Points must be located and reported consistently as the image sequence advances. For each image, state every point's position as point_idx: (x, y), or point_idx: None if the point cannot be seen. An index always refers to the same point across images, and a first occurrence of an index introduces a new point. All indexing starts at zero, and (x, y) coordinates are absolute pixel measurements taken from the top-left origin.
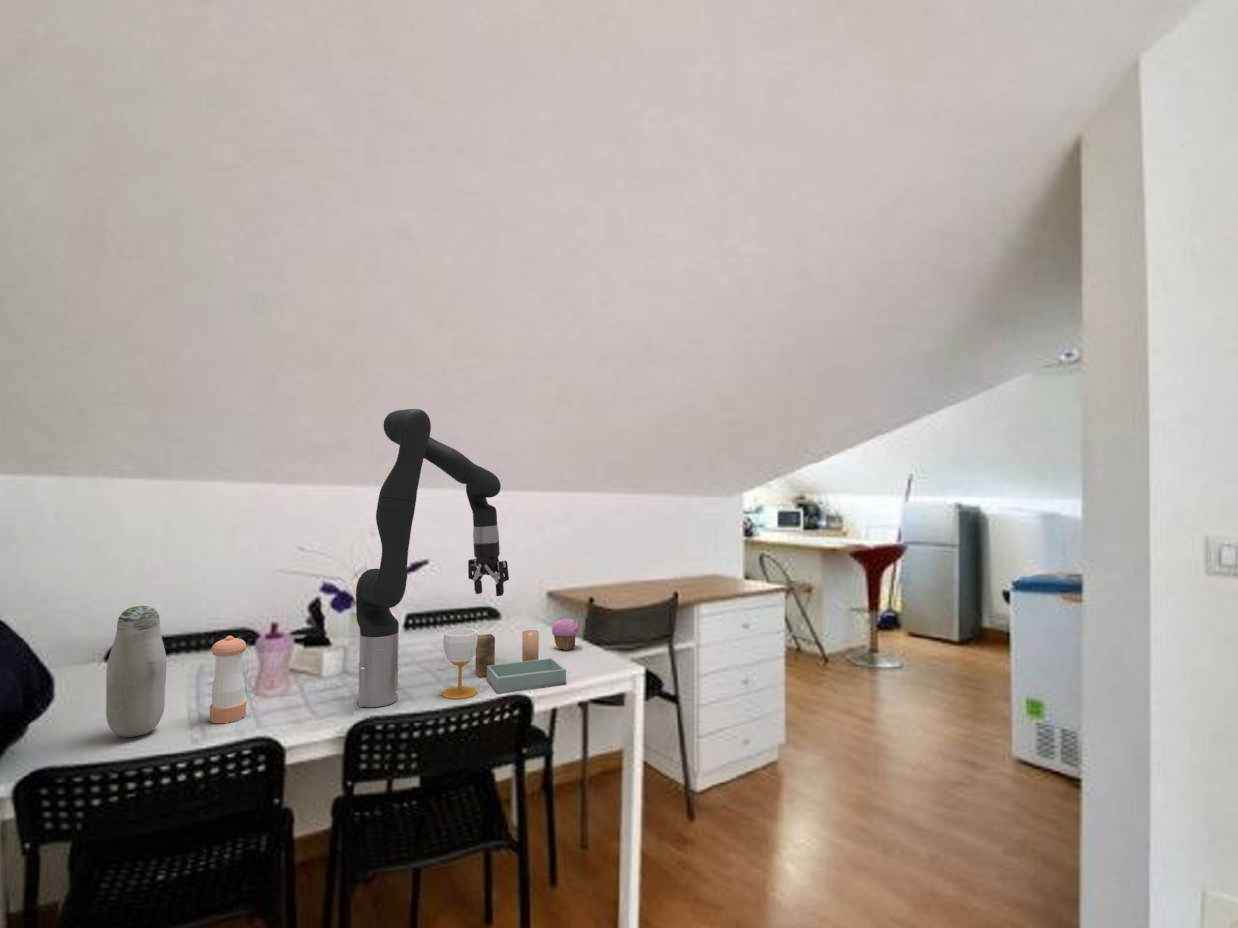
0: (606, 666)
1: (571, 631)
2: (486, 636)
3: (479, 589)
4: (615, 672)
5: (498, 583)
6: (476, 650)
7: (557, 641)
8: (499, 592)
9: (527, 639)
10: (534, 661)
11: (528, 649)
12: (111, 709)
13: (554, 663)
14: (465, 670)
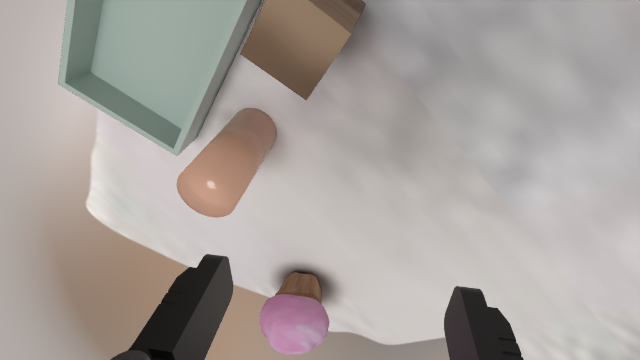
0: (147, 216)
1: (262, 309)
2: (289, 48)
3: (456, 334)
4: (103, 192)
5: (128, 353)
6: (344, 8)
7: (307, 285)
8: (187, 280)
9: (201, 157)
10: (190, 111)
11: (214, 140)
12: None
13: (143, 127)
14: (423, 12)
